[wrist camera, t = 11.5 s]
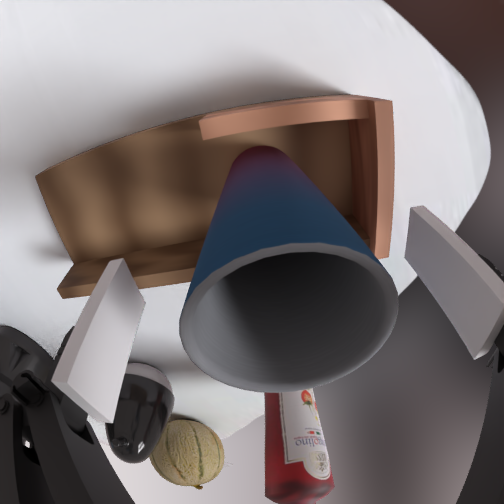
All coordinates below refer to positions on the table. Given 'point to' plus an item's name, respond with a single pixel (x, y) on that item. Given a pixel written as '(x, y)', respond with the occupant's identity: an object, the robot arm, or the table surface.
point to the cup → (283, 284)
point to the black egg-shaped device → (140, 413)
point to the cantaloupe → (188, 454)
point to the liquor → (295, 449)
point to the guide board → (214, 183)
